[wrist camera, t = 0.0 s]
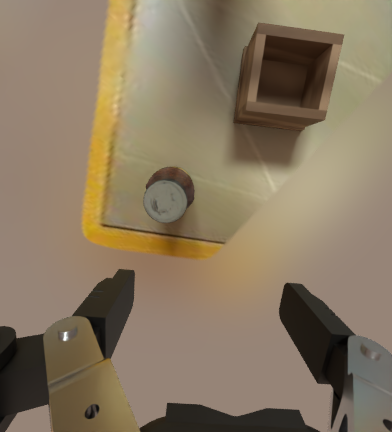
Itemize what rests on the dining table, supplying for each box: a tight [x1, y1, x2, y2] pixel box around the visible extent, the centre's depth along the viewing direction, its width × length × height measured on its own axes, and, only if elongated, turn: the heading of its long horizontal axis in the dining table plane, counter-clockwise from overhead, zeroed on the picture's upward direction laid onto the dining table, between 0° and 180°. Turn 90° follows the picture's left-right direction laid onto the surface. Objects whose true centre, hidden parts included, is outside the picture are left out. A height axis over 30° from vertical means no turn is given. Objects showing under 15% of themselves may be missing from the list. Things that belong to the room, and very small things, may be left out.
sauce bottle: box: [144, 167, 195, 223], centre depth 28 cm, size 6×6×20 cm
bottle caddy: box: [234, 23, 344, 131], centre depth 32 cm, size 11×12×7 cm
